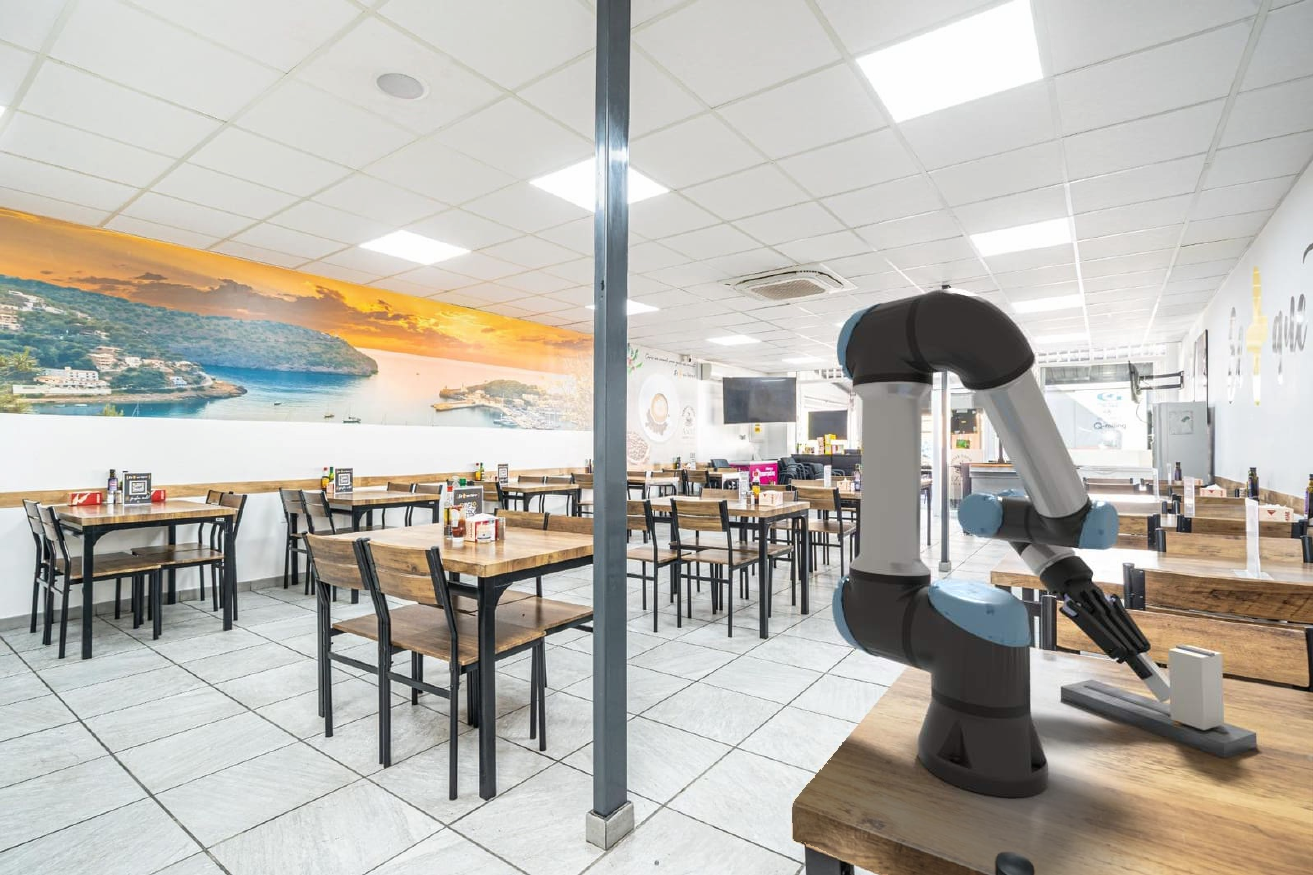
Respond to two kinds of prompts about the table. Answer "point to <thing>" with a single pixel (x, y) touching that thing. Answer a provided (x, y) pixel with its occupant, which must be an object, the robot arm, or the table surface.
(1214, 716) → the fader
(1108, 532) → the robot arm
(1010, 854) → the table surface
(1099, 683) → the grey slotted track base
